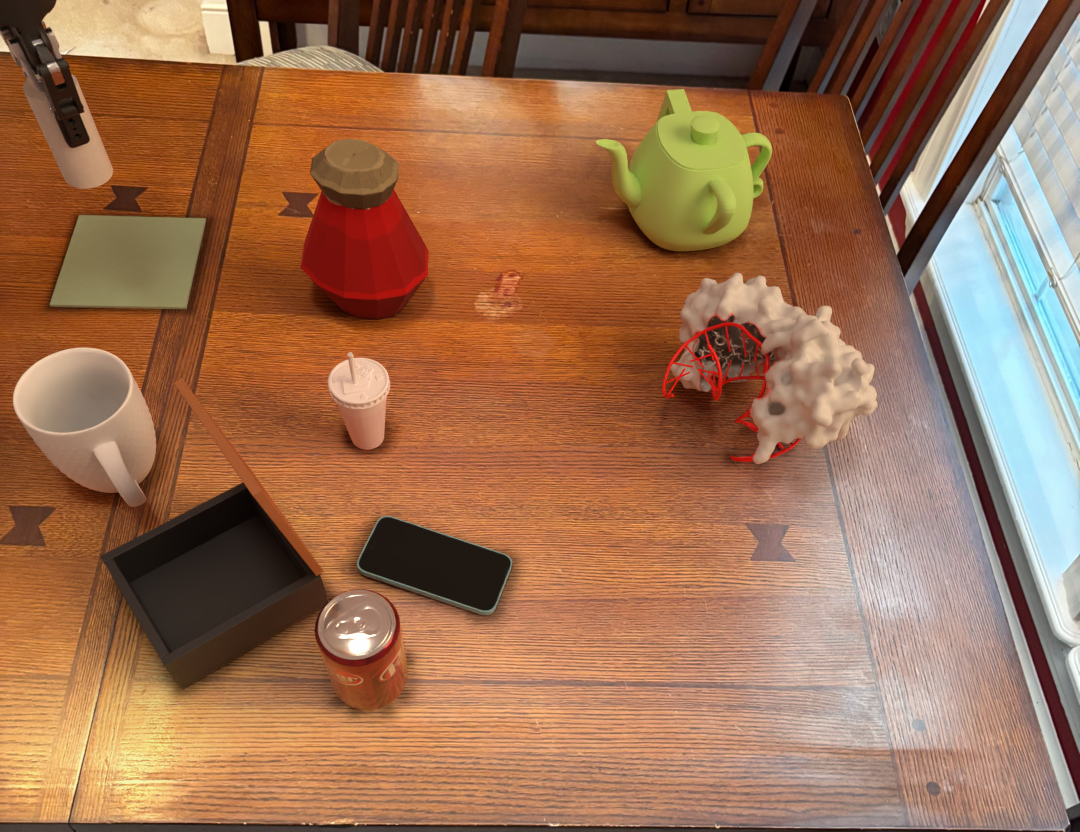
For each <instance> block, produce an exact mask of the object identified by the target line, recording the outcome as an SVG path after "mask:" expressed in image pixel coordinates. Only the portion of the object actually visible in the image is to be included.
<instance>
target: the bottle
mask: <svg viewBox="0 0 1080 832" xmlns="http://www.w3.org/2000/svg"><path fill="white" fill-rule="evenodd" d="M399 170H400V163H399V162H398V161H397V160H396V159H395V158H394V157H393V156H391V154H389V153H388V152H387V151H385V150H384V149H382V148H380V147H379V146H377V145H375V144H373V143H371V142H368V141H366V140H364V139H357V138H356V139H355V138H345V139H338V140H337V139H336V140H334V141H333V142H332V143H330V144H329V145H327V146H326V147H325V148H323V149H322V150H320V151H319V152H318V153H316V154H315V155H314V156H313V157H312V158H311V161H310V171H309V175H310V176H311V177H312V178H313V180H314V182H315V183H316V185H317V186H318V188H319V189H320V194H319V197H318V200H317V203H316V205H315V209H314V212H313V215H312V218H311V222H310V224H309V226H308V230H307V232H306V236H305V239H304V242H303V246H302V247H303V248H302V254H301V262H300V269H301V270H302V272H304V274H306V276H308V278H310V280H312V282H314V284H315V285H316V286H317V287H318V288H319V289H320V290H321V291H322V292H323V293H324V294H325V295H326V296H327V297H328V298H329V299H330V300H332V302H333V303H334V304H335V305H336V306H337V307H339V308H340V310H341V311H342V312H344V313H346V314H348V315H351V316H353V317H355V318H357V319H362V320H375V321H378V320H383V319H384V320H385V319H389V318H393V317H395V316H397V314H398V313H400V311H402V310H403V309H404V308H405V307H406V306H407V305H408V303H409V302H410V300H411V299H412V298H413V296H414V295H415V293H417V291H418V290H419V288H420V287H421V285H422V284H423V282H424V281H425V280H426V279H427V277H428V275H429V254H430V253H429V252H430V251H429V248H428V247H427V244H426V243H425V241H424V240H423V237H422V236H421V235H420V232H419V230H418V229H417V227H416V225H415V224H414V222H413V221H412V218H411V217H410V215H409V214H408V212H407V210H406V208H405V206H404V204H403V203H402V201H401V199H400V198H399V196H398V194H397V192H396V190H395V187H396V185H397V183H398V180H399Z"/></svg>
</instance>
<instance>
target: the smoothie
mask: <svg viewBox="0 0 1080 832" xmlns="http://www.w3.org/2000/svg"><path fill="white" fill-rule="evenodd" d="M327 386H328V393H329V396H330V397H331V398H332V400H333V401H334V402H335V404H336V405H337V408H338V410H339V412H340V416H341V417H342V420H343V423H344V426H345V428H346V431H347V432H348V435H349V438H350V440H351V442H352V445H354V446H355V447H356V448H358V449H360V450H366V451H367V450H373V449H375V448H378V447H379V446H381V445H382V444H383V442H384V439H385V430H386V429H385V428H386V427H385V426H386V414H387V413H386V412H387V399H388V395H389V393H390V390H391V380H390V376H389V373H388V370H387V369H386V368H385V366H384V365H383V364H381V363H380V362H378V361H376V360H375V359H373V358H368V357H355V356H354V353H353V352H352V351H351V352H350V351H349V352H347V359H345V360H343V361H341V362H339V363H337V365H335V366H334V367H333V368H332V370H331V371H330V372H329V374H328V377H327Z"/></svg>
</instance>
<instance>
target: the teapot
mask: <svg viewBox="0 0 1080 832" xmlns="http://www.w3.org/2000/svg"><path fill="white" fill-rule="evenodd" d="M595 143H596V145H597V146H598V147H599V148H602V149H604V150H605V151H607V152H608V154H609V155H610V158H611V183H612V187H613V191H614V192H615V194H616V196H617V197H618V198H619V200H621V201H622V203H624V204H625V205H626V206H627V208H628V211H629V212H630V215H631V217H632V218H633V220H634V222H635V224H636V225H637V227H638V228H639V230H640V231H641V232H642V234H644V235H645V237H646V238H647V239H648V240H650V242H652V243H653V244H654V245H656V246H657V247H659V248H661V249H664V250H667V251H673V252H696V251H703V250H710V249H715V248H718V247H722V246H725V245H727V244H729V243H731V242H732V241H733V240H735V239H737V238H738V237H739V236H741V234H742V233H744V231H745V230H746V229H747V227H748V225H749V223H750V220H751V216H752V213H753V207H754V206H753V205H754V199H757V198H758V197H760V196H761V195H762V194H763V192H764V187H765V186H764V181H763V179H762V178H761V177H760V176H761V175H762V173H763V172H764V171H765V169H766V167H767V166H768V164H769V163H770V160H771V158H772V154H773V147H772V143H771V141H770V140H769V139H768V137H766V136H765V134H763V133H760V132H755V131H753V132H747V133H743V134H741V132H740V130H739V129H738V128H737V127H736V126H735V124H734V123H733V122H732V121H731V120H730V119H728V118H727V117H726V116H724V115H722V114H721V113H718V112H716V111H710V110H693V109H692V107H691V104H690V101H689V98H688V96H687V93H686V90H685V89H684V88H680V89H679V88H677V89H666V91H665V94H664V98H663V100H662V103H661V107H660V109H659V113H658V116H657V118H656V122H655V123H654V124H653V125H652V126H651V128H650V129H649V130H648V131H647V133H646V134H645V135H644V137H643V138H642V139H641V141H640V142H639V143H638V145H637V147H636V149H635V151H634V153H633V154H632V157H631V160H630V161H628V155H627V151H626V149H625V147H624V145H623V144H622V143H621V142H619V141H617V140H615V139H609V138H608V139H607V138H601V139H597V140H596V141H595ZM754 146H758V147H761V150H760V152H759V154H758V155H757V158H756V159H755V161H754V162H753V163H752V164H751V160H750V155H749V151H748V148H749V147H754ZM628 162H629V163H628Z"/></svg>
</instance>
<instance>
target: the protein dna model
mask: <svg viewBox="0 0 1080 832" xmlns="http://www.w3.org/2000/svg"><path fill="white" fill-rule="evenodd" d="M832 314H833V308H832V307H831V306H830V305H821V306H820V307H818V308H817V310H816V313H815V315H810V314H807V313H806V312H805V311H804V309H803V308H802V307H800V306H798V305H797V306H795V305H794V306H793V305H791V304H789V303H787V302H786V301H785V299H784V297H783V294H782V291H781V288H780V287H779V286H777V285H772V286H769V285H767V278H766V276H764V275H760V274H759V275H757V276H756V277H755V276H754V277H753V278H752V277H750V278H749V279H747V281H745V282H744V276H743V274H742V273H740V272H735V273H733V274H732V276H731V277H729V278H728V279H726V280H725V281H722V282H719V283H718V282H717V280H716V279H713V278H709V277H704V278H702V279H701V281H700V285H699V287H698V289H697V290H696V291H694V292H691V293H690V294H688V295H687V297H686V298H685V300H684V305H683V306H682V308H681V310H680V313H679V318H680V321H681V326H680V327H679V329H678V332H679V334H678V340H679V342H680V344H681V346H680V347H679V348H678V349H677V350H676V352H675V353H674V354H673V356H672V357H671V359H670V360H669V362H668V364H667V367H666V370H665V372H664V376H663V380H662V384H661V393H662V396H663V398H664V399H670V398H674V396H675V393H672V392H673V390H674V389H675V387H676V386H677V384H678V382H681V384H682V387H683V389H686V390H689V389H692V390H697V391H698V392H699V391H700V392H705V393H709V392H710V391H711V395H712V398H713V400H714V401H715V402H718V401H719V399H720V398H721V395H722V392H723V389H722V388H723V386H724V385H726V384H728V383H745V382H748V381H749V380H763V382H762V385H761V388H760V392H759V394H758V395H757V397H753V399H752V400H753V401H752V403H751V405H750V407H748V409H747V410H746V411H745V412H744V413H743V414H741V415H740V416H739V417H737V418H736V419H735V420H734V423H735V424H739V423H740V424H742V425H743V426H746V427H747V428H749V429H751V430H752V431H753V432H755V433H756V439H757V440H758V446H757V448H756V450H755V452H754V453H753V454H751V455H750V456H738V457H737V456H734V455H733V454H732V455H730V456H729V459H730V460H732V461H733V462H738V463H739V462H740V463H752V462H753V463H754V464H756V465H761V464H764V463H766V462H768V461H769V460H770V459H774V458H777V457H779V456H781V455H783V454H785V453H787V452H789V451H791V450H792V449H794V448H795V447H797V445H798V444H799V443H800V442H801V440H802V439H803V438H804V442H805V444H806V446H807V447H809V448H810V449H812V450H817V449H821V448H823V447H825V446H826V445H827V444H828V443H829V442H835V441H836V440H838V441H839V440H840V441H841V440H843V439H845V438H846V436H847V435H848V433H849V429H850V425H851V423H852V420H853V419H854V418H856V417H857V416H860V415H862V416H867V417H869V416H871V415H872V414H873V413H874V411H875V410H876V409H877V407H878V401H877V398H878V393H877V390H876V388H875V387H874V386H873V385H872V384H870V383H871V382H872V380H873V378H874V376H875V366H874V364H872V363H867V362H866V361H865V360H864V359H863V354H862V353H861V351H860V350H857V349H855V347H854V346H853V345H850V344H846V342H845V341H844V340H842V339H841V338H840V336H841V334H842V333H841V328H840V327H839V326H837V325H835V324H833V322H832V321H831V318H832ZM683 350H684V351H683ZM682 351H683V352H682ZM681 352H682V354H681ZM680 354H681V356H680ZM678 356H680V358H679V360H678V361H675V360H676V359H677V358H678ZM670 372H671V373H672V375H673V378H671V379H669V380H668V378H669V375H670ZM753 374H755V375H753ZM716 378H717V384H716ZM726 378H727V379H726ZM671 382H674V383H673V385H672V386H671V387H670V390H669V391H668V392H667V391H666V387H667V384H669V383H671ZM765 391H767V392H766V394H765ZM764 394H765V395H764ZM746 418H751V419H752V421H753V422H750V421H746V420H744V419H746ZM794 440H795V441H794ZM782 443H783V444H789V445H788V446H787V447H785V448H784V446H783V444H782ZM776 446H777V447H778V448H779V449H781V450H779V451H777V452H775V453H774V451H775V449H776Z"/></svg>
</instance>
